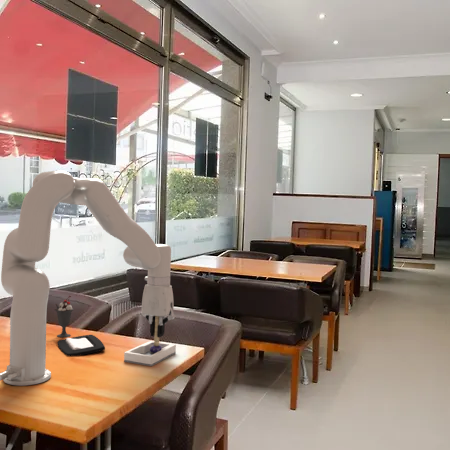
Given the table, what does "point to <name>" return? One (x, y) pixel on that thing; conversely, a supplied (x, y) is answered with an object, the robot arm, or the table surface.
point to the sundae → (64, 316)
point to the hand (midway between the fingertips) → (157, 335)
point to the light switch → (80, 345)
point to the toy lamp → (156, 338)
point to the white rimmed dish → (149, 354)
